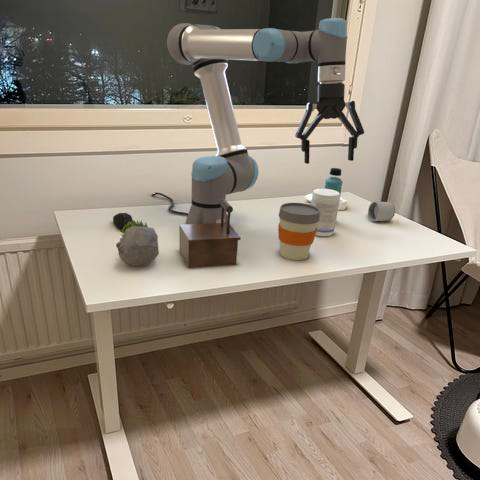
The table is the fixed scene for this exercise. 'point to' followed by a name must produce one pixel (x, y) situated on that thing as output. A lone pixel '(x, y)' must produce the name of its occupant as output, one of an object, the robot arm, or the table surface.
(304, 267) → the table surface
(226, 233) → the bin lid
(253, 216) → the table surface
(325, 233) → the supplement tub
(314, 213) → the reusable coffee cup
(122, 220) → the gaming mouse
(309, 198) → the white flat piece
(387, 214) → the ceramic mug
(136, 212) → the table surface
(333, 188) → the beverage bottle
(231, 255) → the bin
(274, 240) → the table surface
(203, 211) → the robot arm
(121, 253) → the potted plant
